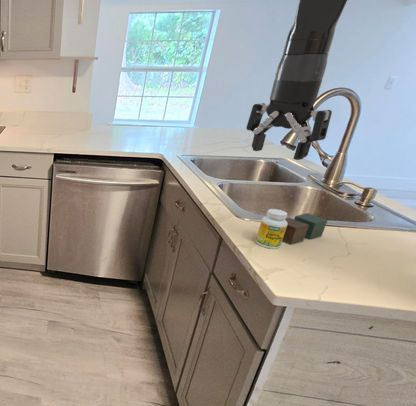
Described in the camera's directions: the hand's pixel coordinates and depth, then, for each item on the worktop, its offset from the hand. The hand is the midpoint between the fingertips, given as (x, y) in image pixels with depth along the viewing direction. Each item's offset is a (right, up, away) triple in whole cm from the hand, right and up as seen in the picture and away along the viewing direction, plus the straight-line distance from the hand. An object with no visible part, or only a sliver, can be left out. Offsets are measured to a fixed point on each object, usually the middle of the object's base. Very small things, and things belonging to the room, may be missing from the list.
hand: (276, 154), depth 81 cm
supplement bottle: (+12, -22, +17) cm, 31 cm away
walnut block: (+19, -21, +20) cm, 34 cm away
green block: (+26, -19, +22) cm, 39 cm away
